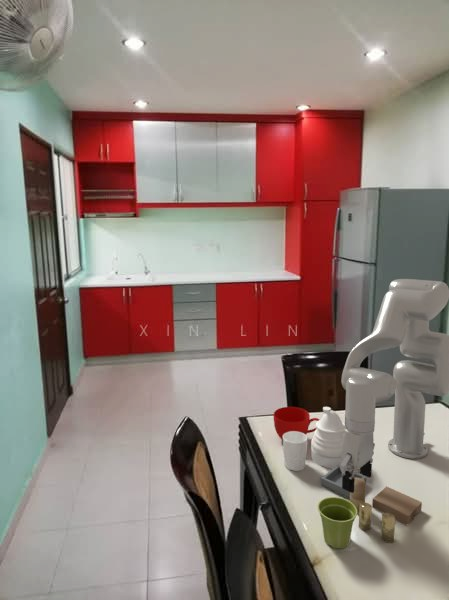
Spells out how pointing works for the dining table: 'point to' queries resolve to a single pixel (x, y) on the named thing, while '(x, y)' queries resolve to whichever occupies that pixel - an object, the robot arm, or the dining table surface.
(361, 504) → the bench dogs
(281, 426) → the ceramic cup
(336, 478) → the tray
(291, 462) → the white cup
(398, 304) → the robot arm
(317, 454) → the honey pot
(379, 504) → the brown wooden brick
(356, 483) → the dowel
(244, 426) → the dining table surface
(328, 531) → the plant pot
